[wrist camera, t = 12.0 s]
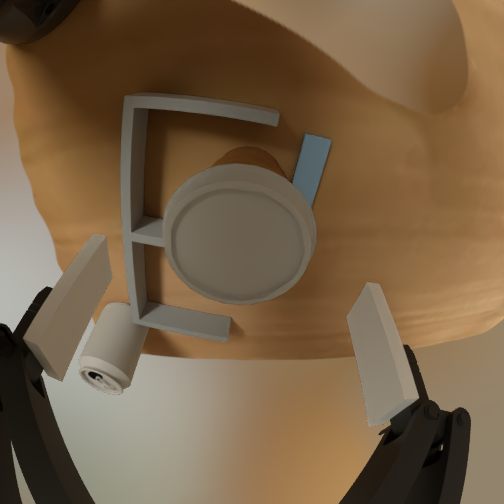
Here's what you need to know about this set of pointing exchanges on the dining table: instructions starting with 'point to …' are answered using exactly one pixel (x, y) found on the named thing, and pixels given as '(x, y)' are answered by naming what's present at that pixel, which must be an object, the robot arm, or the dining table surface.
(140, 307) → the comb rack
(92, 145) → the dining table surface
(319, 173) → the blue rectangular block
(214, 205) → the disposable coffee cup
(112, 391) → the can
